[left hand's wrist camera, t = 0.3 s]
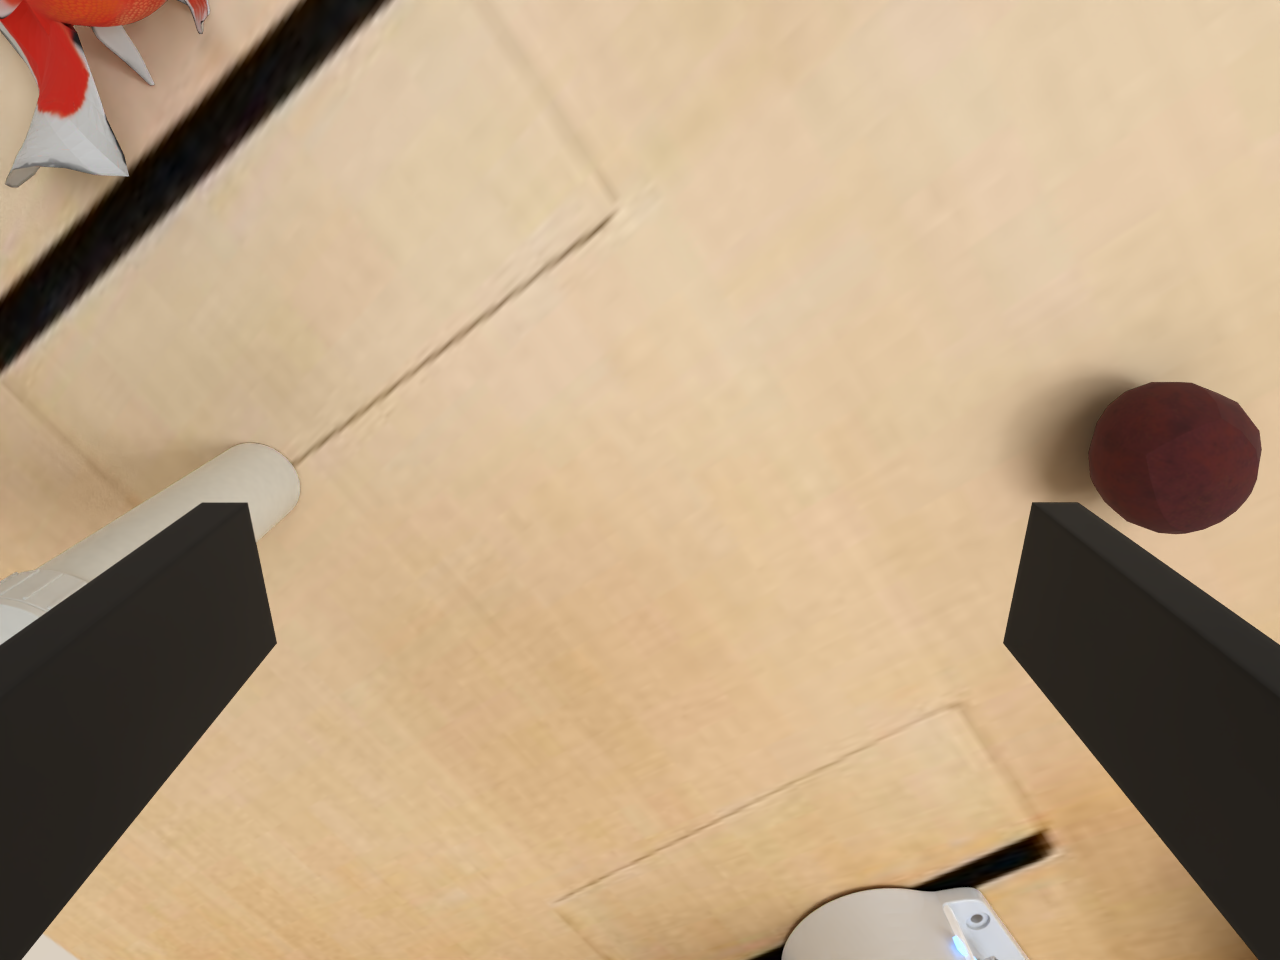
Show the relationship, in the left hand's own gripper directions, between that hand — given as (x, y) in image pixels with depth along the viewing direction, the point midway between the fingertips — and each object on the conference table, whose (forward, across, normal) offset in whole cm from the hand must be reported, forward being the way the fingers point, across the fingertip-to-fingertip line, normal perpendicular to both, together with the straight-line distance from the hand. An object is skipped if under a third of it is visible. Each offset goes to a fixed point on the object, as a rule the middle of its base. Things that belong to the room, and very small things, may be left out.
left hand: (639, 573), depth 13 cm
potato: (+28, +27, -6) cm, 39 cm away
